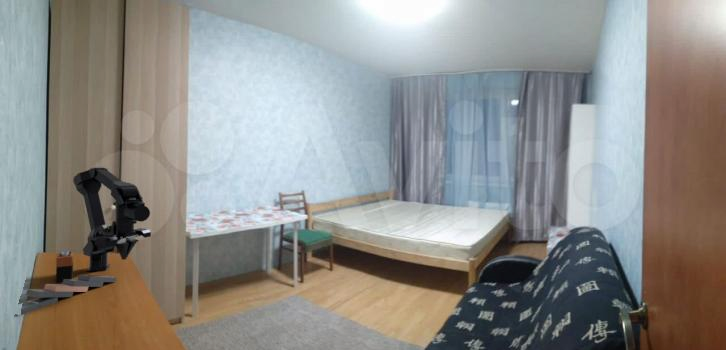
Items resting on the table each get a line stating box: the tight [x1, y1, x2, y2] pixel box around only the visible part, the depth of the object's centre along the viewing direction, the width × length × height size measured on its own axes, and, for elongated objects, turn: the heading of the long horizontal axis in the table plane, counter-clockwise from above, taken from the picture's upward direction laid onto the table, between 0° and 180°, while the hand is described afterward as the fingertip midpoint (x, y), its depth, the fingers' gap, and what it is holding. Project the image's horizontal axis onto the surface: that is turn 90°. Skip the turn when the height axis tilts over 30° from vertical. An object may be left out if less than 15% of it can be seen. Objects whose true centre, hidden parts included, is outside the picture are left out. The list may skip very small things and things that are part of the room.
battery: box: [55, 250, 74, 284], centre depth 127 cm, size 4×7×10 cm, turn 37°
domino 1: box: [25, 288, 74, 298], centre depth 109 cm, size 2×5×10 cm
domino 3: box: [43, 283, 89, 293], centre depth 113 cm, size 2×5×10 cm
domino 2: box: [20, 297, 59, 316], centre depth 104 cm, size 2×5×10 cm
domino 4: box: [61, 278, 105, 288], centre depth 118 cm, size 2×5×10 cm
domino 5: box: [77, 274, 117, 283], centre depth 123 cm, size 2×5×10 cm
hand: (123, 259), depth 133 cm, fingers closed
